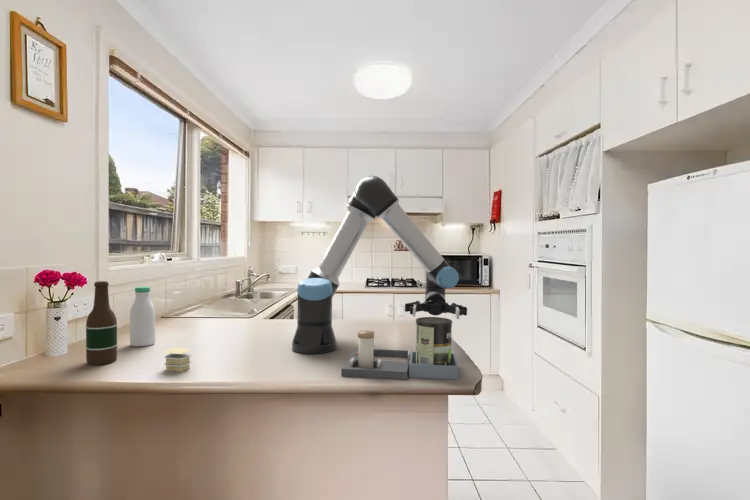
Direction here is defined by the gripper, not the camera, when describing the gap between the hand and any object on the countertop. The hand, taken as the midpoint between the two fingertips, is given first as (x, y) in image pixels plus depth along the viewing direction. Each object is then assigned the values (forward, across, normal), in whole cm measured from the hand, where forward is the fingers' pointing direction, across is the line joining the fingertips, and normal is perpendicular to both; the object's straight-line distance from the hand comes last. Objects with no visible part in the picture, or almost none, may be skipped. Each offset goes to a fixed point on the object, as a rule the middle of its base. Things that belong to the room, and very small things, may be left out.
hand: (436, 313), depth 132 cm
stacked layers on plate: (+21, +73, -17) cm, 77 cm away
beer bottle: (+18, +98, -18) cm, 102 cm away
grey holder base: (+8, +16, -15) cm, 24 cm away
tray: (+11, 0, -15) cm, 18 cm away
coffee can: (+11, 0, -14) cm, 18 cm away
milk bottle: (-2, +100, -18) cm, 102 cm away
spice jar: (+14, +19, -15) cm, 29 cm away
